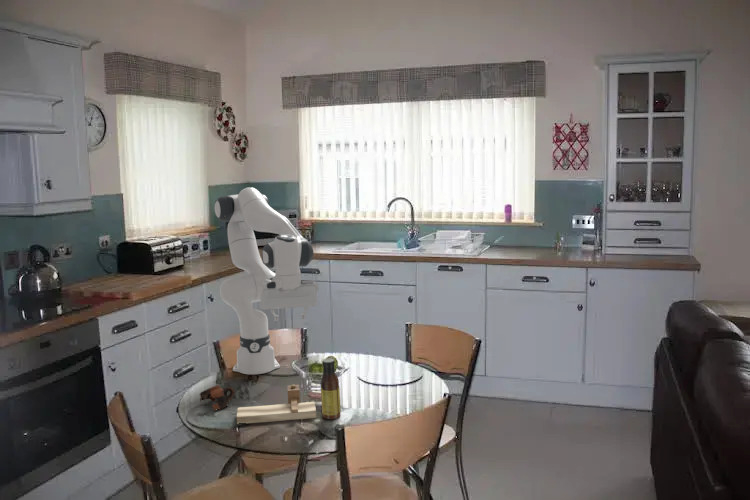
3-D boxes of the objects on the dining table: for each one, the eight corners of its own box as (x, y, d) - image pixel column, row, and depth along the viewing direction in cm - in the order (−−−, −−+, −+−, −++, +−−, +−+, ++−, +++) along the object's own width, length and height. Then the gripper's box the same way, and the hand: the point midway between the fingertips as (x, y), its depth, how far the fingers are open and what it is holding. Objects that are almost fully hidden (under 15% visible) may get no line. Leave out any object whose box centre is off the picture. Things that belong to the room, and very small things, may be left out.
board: (238, 414, 231) (237, 407, 231) (314, 408, 235) (314, 401, 234) (237, 424, 223) (236, 416, 223) (316, 417, 227) (316, 410, 227)
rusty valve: (206, 415, 233) (197, 392, 234) (205, 417, 241) (196, 395, 243) (239, 400, 237) (230, 378, 239) (237, 403, 246) (228, 381, 247)
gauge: (288, 404, 239) (287, 383, 238) (299, 403, 240) (298, 382, 238) (289, 421, 224) (288, 399, 223) (301, 420, 225) (300, 398, 224)
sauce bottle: (331, 411, 232) (329, 355, 229) (344, 415, 228) (343, 358, 225) (317, 417, 227) (315, 360, 224) (331, 422, 223) (329, 364, 220)
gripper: (317, 278, 242) (318, 315, 244) (259, 281, 239) (261, 319, 241) (318, 281, 236) (320, 320, 238) (258, 284, 233) (260, 323, 235)
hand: (290, 319), depth 240 cm, fingers open, 8 cm apart
